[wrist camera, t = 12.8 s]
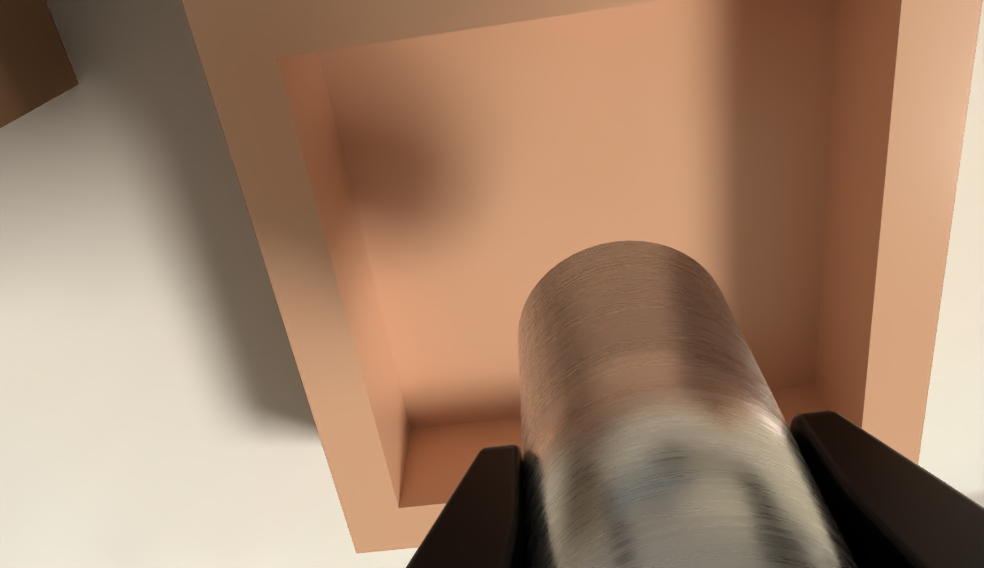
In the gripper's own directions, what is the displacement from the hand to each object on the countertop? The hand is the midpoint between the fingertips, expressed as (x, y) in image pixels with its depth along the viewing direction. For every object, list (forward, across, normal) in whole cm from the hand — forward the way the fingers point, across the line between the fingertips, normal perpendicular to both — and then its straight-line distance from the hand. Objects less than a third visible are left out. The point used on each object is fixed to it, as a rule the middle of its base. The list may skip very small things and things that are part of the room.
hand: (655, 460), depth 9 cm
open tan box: (+7, 0, 0) cm, 7 cm away
